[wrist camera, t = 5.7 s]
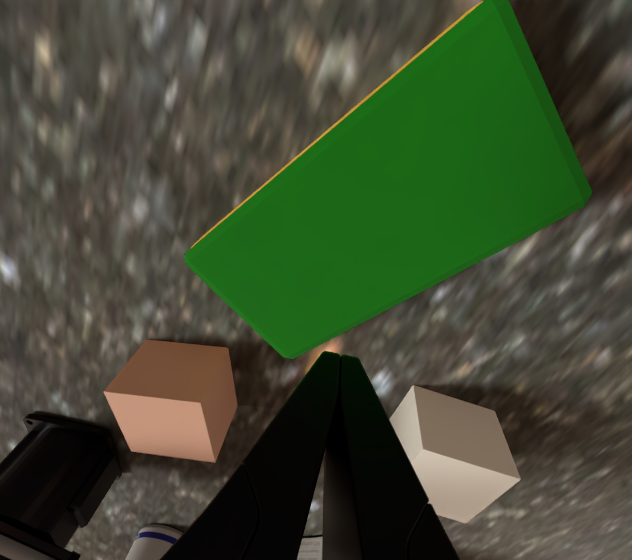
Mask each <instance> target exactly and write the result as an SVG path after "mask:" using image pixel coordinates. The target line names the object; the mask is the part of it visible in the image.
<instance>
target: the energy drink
mask: <svg viewBox="0 0 632 560" xmlns="http://www.w3.org/2000/svg"><path fill="white" fill-rule="evenodd" d="M182 534H183V533H182V532H180V531H178V530H176V529H174V528H171V527H168V526H165V525H158V524H151V525H147V526H145V527H144V528H142V529H141V530H140V531H139V533H138V535H137V537H136V539H135V541H134V543H133V545H132V547H131V549H130V551H129V553H128V555H127V557H126V559H125V560H159V559H160V558H161V557H162V556H163V555H164V554H165V553H166V552H167V551H168V550H169V549H170V547H171V546H172V545H173V544H174V543H175V542H176V541H177V540H178V539H179V538H180V537H181V536H182Z"/></svg>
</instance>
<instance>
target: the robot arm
mask: <svg viewBox="0 0 632 560" xmlns="http://www.w3.org/2000/svg"><path fill="white" fill-rule="evenodd" d="M23 421H24V423H25V425H26V427H27V429H28V431H29V433H28V434H27V435H26V436H25V437H24V439H23V440H22V441H21V442H20V443H19V444H18V445H17V446H16V447H15V448H14V449H13V450H12V451H11V452H10V453H9V454H8V455H7V457H6V458H5V459H4V460H3V461H2V462H1V463H0V560H79V558H80V555H81V554H78V553H76V552H74V551H73V552H70V551H68V550H66V549H64V548H65V547H66V545H67V544H68V542H69V541H70V539H71V538H72V536H73V534H74V533H75V531H76V530H77V528H78V527H79V528H83V527H85V526H86V525H87V524H88V522H89V521H90V519H91V518H92V516H93V514H94V513H95V511H96V510H97V508H98V506H99V505H100V503H101V502H102V500H103V498H104V497H105V495H106V494H107V492H108V490H109V489H110V487H111V485H112V484H113V482H114V481H115V480H119V478H120V477H121V475H122V472H121V468H120V465H119V461H118V458H117V455H116V451H115V448H114V444H113V441H112V438H111V434H110V433H109V432H108V431H107V430H105V429H101V428H96V427H92V426H87V425H82V424H78V423H73V422H68V421H64V420H59V419H54V418H50V417H45V416H40V415H35V414H28V415H27V416H26V417H25V418H24V419H23ZM324 452H325V454H324ZM323 456H324V492H323V537H322V560H460V558H459V557H458V555H457V553H456V551H455V549H454V547H453V545H452V543H451V541H450V540H449V538H448V536H447V534H446V532H445V530H444V528H443V526H442V524H441V522H440V520H439V518H438V516H437V514H436V512H435V510H434V508H433V506H432V504H430V503H429V504H428V502H429V498H428V496H427V494H426V492H425V490H424V488H423V486H422V484H421V482H420V480H419V478H418V476H417V474H416V472H415V470H414V468H413V466H412V464H411V462H410V460H409V458H408V456H407V454H406V452H405V450H404V448H403V446H402V444H401V442H400V440H399V438H398V436H397V434H396V432H395V430H394V428H393V426H392V424H391V422H390V420H389V418H388V416H387V414H386V412H385V410H384V408H383V406H382V404H381V402H380V400H379V398H378V396H377V394H376V392H375V390H374V388H373V386H372V384H371V382H370V380H369V378H368V376H367V374H366V372H365V370H364V368H363V366H362V364H361V362H360V360H359V359H358V358H357V357H353V356H348V355H342V356H341V357H340V355H339V354H338V353H333V352H328V351H324V352H323V353H322V354H321V355H320V356H319V358H318V359H317V360H316V362H315V363H314V364H313V366H312V367H311V368H310V370H309V371H308V373H307V374H306V375H305V377H304V378H303V379H302V381H301V382H300V383H299V385H298V386H297V387H296V389H295V390H294V391H293V393H292V394H291V396H290V397H289V398H288V400H287V401H286V402H285V404H284V405H283V406H282V408H281V409H280V410H279V412H278V413H277V414H276V416H275V417H274V419H273V420H272V421H271V423H270V424H269V425H268V427H267V428H266V429H265V431H264V432H263V433H262V435H261V436H260V437H259V439H258V440H257V442H256V443H255V444H254V446H253V447H252V448H251V450H250V451H249V452H248V454H247V455H246V456H245V458H244V459H243V461H242V464H239V465H238V467H237V468H236V470H235V471H234V472H233V474H232V475H231V476H230V478H229V479H228V480H227V482H226V483H225V484H224V485H223V487H222V488H221V489H220V491H219V492H218V493H217V494H216V496H215V497H214V498H213V499H212V501H211V502H210V503H209V504H208V506H207V507H206V508H205V509H204V510H203V512H202V513H201V514H200V515H199V516H198V517H197V518H196V520H195V521H194V522H193V523H192V524H191V525H190V526H189V528H188V529H187V530H186V531H185V532H184V533H183V534H182V536H181V537H180V538H179V539H178V540H177V541H176V542H175V543H174V544H173V545H172V546H171V547H170V549H169V550H168V551H167V552H166V553H165V554H164V555H163V556H162V557H161V558H160V559H159V560H297V557H298V553H299V549H300V545H301V541H302V538H303V534H304V530H305V526H306V522H307V518H308V514H309V510H310V506H311V503H312V499H313V495H314V491H315V487H316V483H317V479H318V475H319V471H320V467H321V464H322V460H323Z"/></svg>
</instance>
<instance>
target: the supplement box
mask: <svg viewBox="0 0 632 560" xmlns="http://www.w3.org/2000/svg"><path fill="white" fill-rule="evenodd" d="M322 537H323V536H322ZM322 537H316V538H302V541H301V545H300V549H299V553H298V557H297V560H322Z"/></svg>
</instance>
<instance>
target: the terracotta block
mask: <svg viewBox="0 0 632 560" xmlns="http://www.w3.org/2000/svg"><path fill="white" fill-rule="evenodd" d="M104 394H105V396H106V398H107V400H108V402H109V405H110V407H111V409H112V411H113V413H114V415H115V418H116V420H117V422H118V424H119V426H120V428H121V431H122V433H123V435H124V437H125V439H126V441H127V444H128V446H129V448H130V450H131V451H132V452H140V453H147V454H155V455H162V456H170V457H177V458H184V459H192V460H199V461H207V462H214V463H215V462H216V460H217V457H218V454H219V452H220V449H221V447H222V444H223V442H224V439H225V436H226V434H227V431H228V429H229V426H230V423H231V421H232V418H233V416H234V413H235V411H236V408H237V399H236V392H235V386H234V380H233V374H232V368H231V362H230V355H229V349H228V348H226V347H216V346H206V345H197V344H187V343H177V342H167V341H157V340H146V341H145V342H144V343H143V344H142V346H141V347H140V348H139V349H138V351H137V352H136V353H135V354H134V355H133V357H132V358H131V359H130V360H129V361H128V363H127V364H126V365H125V366H124V367H123V369H122V370H121V371H120V372H119V374H118V375H117V376H116V377H115V378H114V380H113V381H112V382H111V383H110V384H109V386H108V387H107V388H106V389H105V390H104Z"/></svg>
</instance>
